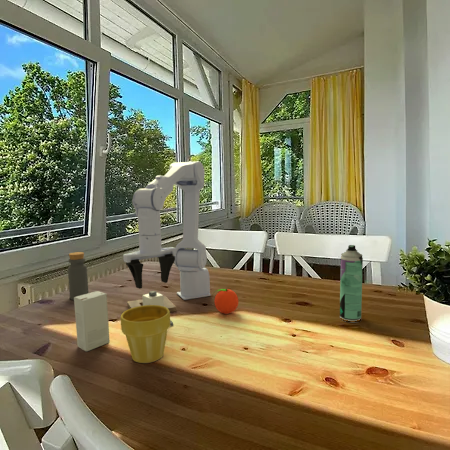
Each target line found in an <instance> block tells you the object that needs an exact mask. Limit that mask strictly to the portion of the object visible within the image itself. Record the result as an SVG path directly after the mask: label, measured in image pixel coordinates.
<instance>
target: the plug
mask: <svg viewBox="0 0 450 450" xmlns="http://www.w3.org/2000/svg"><path fill="white" fill-rule="evenodd" d="M163 296H164V294H163V293H160V292H158V291H156V290H154V291H153V290H151V291H149V292H148V293H146V294H142V296H141V297H142V299H143V306H144V305H160V306H164V299H163Z"/></svg>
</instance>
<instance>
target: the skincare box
mask: <svg viewBox="0 0 450 450" xmlns="http://www.w3.org/2000/svg"><path fill="white" fill-rule="evenodd" d="M107 294H108V293H106V292H102V291H99V290H98V291H97V290H95V291H92V292H88V294H84V295H81V296H77V297H74V300H73V302H74V313H75V314H74V316H75V330H76V331H75V332H76V343H77V347H78V348H80V349H81V350H82V351H84V352H90V351H92V350H94V349H96V348H99V347H101V346H104V345H106V344H109V343H110V328H109V327H110V326H109V325H110V324H109V309H108V295H107Z"/></svg>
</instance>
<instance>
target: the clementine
mask: <svg viewBox="0 0 450 450" xmlns="http://www.w3.org/2000/svg"><path fill="white" fill-rule="evenodd" d="M215 292H217V293H216V295H215V296H214V307H215V308H216V309H217V311H218V312H219V313H221V314H225V315H227V314H232V313H233V312H235V311H236V309H237V308H238V306H239V301H240V300H239V297H238V295H237V293H236V292H235V291H234V290H232V289H230V288H220V289H216V291H214V293H215Z"/></svg>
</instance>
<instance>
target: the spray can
mask: <svg viewBox="0 0 450 450" xmlns="http://www.w3.org/2000/svg"><path fill="white" fill-rule="evenodd" d="M363 261H364V258H363V254H362V253H360V252H358V249H356V245H355V244H349V245H348V248H347V249H346V250H345V251H344V252H343V253H341V254H340V279H339V280H340V283H339V319H340V318H342V319H344V320H348V321H357V320H360V319H361V320H362V305H363V304H362V302H363V301H362V299H363V298H362V297H363Z"/></svg>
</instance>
